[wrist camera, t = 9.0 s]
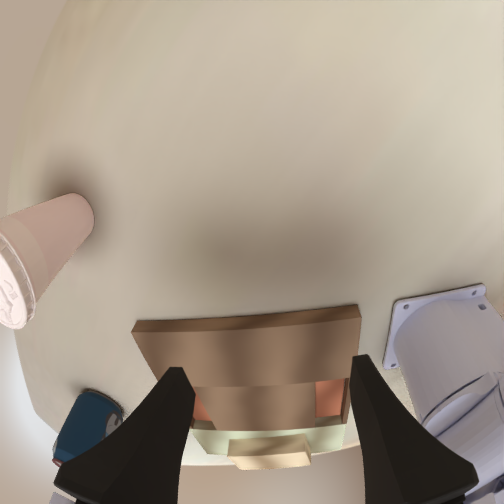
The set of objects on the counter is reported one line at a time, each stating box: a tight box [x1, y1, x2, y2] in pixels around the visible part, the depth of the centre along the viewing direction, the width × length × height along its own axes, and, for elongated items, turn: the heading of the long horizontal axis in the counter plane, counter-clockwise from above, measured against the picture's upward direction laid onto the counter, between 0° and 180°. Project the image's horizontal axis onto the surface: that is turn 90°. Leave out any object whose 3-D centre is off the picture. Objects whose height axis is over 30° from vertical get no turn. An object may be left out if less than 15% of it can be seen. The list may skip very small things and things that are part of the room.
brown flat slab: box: [131, 305, 362, 455], centre depth 26 cm, size 18×24×2 cm
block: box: [227, 433, 311, 470], centre depth 28 cm, size 9×5×2 cm, turn 107°
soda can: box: [52, 391, 123, 467], centre depth 26 cm, size 7×7×12 cm
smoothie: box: [0, 193, 94, 329], centre depth 13 cm, size 6×6×14 cm
